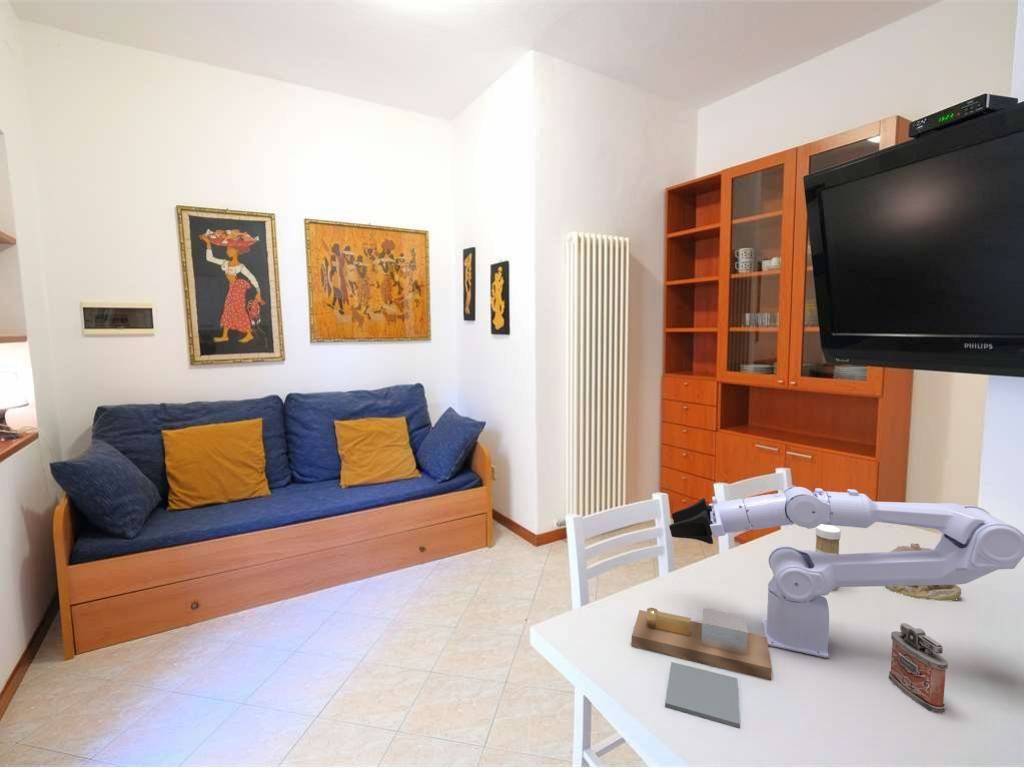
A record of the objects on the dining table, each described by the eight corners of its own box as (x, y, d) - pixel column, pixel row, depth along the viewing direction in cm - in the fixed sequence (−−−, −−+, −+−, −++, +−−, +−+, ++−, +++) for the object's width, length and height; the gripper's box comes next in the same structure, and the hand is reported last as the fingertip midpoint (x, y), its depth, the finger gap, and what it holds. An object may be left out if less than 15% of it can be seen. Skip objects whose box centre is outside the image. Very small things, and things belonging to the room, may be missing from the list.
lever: (646, 626, 87) (646, 612, 87) (647, 621, 89) (647, 606, 88) (689, 636, 84) (690, 621, 84) (690, 630, 86) (690, 615, 85)
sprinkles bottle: (841, 587, 105) (844, 528, 104) (832, 593, 102) (835, 533, 101) (819, 579, 109) (821, 522, 108) (809, 584, 106) (811, 526, 105)
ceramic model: (884, 594, 102) (887, 549, 101) (867, 571, 113) (869, 530, 112) (968, 607, 97) (971, 559, 96) (942, 581, 107) (945, 538, 107)
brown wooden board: (766, 647, 84) (766, 636, 84) (771, 680, 76) (771, 668, 76) (639, 619, 93) (639, 609, 93) (631, 646, 85) (631, 635, 84)
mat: (737, 681, 76) (737, 678, 75) (739, 728, 66) (739, 723, 66) (671, 665, 80) (671, 661, 79) (665, 706, 70) (665, 702, 70)
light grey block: (745, 638, 83) (745, 616, 83) (746, 655, 79) (747, 632, 79) (702, 629, 86) (702, 608, 86) (701, 645, 82) (702, 622, 81)
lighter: (882, 676, 77) (885, 616, 76) (901, 674, 77) (905, 615, 76) (930, 714, 69) (934, 648, 68) (951, 712, 69) (956, 647, 68)
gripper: (738, 483, 95) (668, 495, 100) (743, 503, 81) (663, 515, 86) (747, 518, 94) (677, 528, 99) (755, 544, 81) (674, 553, 86)
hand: (671, 524), depth 93 cm, fingers open, 7 cm apart
